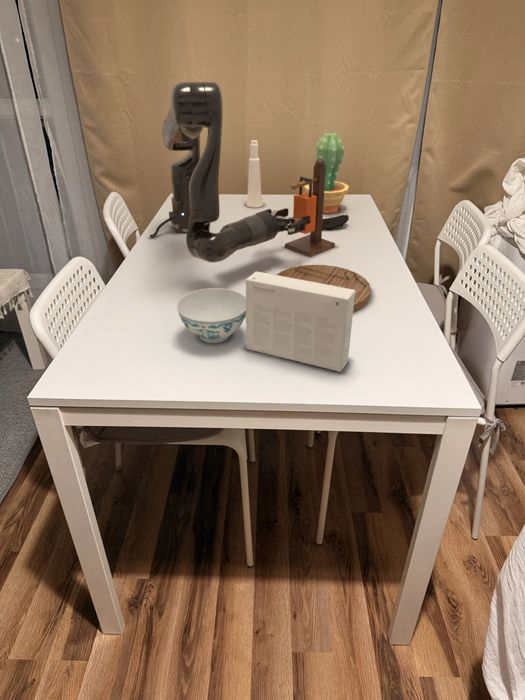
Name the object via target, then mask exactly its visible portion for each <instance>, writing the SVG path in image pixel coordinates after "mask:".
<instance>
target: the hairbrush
mask: <svg viewBox="0 0 525 700" xmlns="http://www.w3.org/2000/svg"><path fill="white" fill-rule="evenodd" d="M349 219H350V216H349V213H346V214H343V212H340V215H336V214H335V213H334V214H333V215H332V216H331V217H329V216H328V214H326V216H324V218H323V222H322V231H331V230H335V229H338V228H340V227H342V226H344V225H346V224H347V222H348V221H349ZM289 224H290V220H288V225H289Z"/></svg>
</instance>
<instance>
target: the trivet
mask: <svg viewBox="0 0 525 700" xmlns="http://www.w3.org/2000/svg"><path fill="white" fill-rule="evenodd" d="M275 275H278V276H284V277H289V278H294V279H300V280H305V281H311V282H316V283H321V284H327V285H332V286H337V287H342V288H347V289H353V290H355V298H354V308H353V313H354V312H356V311H358V310H360V309H362V308H364V306H366V305H367V304H368V302H369V300H370V297H371V289H372V288H371V284H370V282H369V281H368V280H367V279H366V278H365V277H364V276H363V275H360V274H359V273H358V272H355V271H352V270H351V269H348V268H344V267H340V266H335V265H328V264H304V265H298V266H293V267H289V268H286V269H283V270H281V271H279V272H278V273H276V274H275Z"/></svg>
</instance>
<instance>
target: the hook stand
mask: <svg viewBox="0 0 525 700" xmlns="http://www.w3.org/2000/svg"><path fill="white" fill-rule="evenodd" d="M325 173H326V166H325V161H324V160H323V159H318V160H317V159H316V160H315V162H314V165H313V175H312V178H311V179H312V183H313V192H312V195H314V196H317V201H316V219H315V231H313V232H310V233H309V234H306V235H304V236H301V237H298V238H296V239H293V240H290V241H288V242H286V243H284V248H286V249H287V250H291V251H293V252H296V253H299V254H301V255H304V256H306V257H309V258H311V257H314V256H316V255H319V254H321V253H324V252H326V251H329V250H330V249H333V248H335V246H336V242H333V241H330V240H327V239H324V238H322V236H323V230H322V222H323V219H324V213H323V205H324V189H325ZM305 185H309V182H308V181H305V180H303V181H302V182H300V181H299V182H292V183H291V185H290V188H291V190H295V191H296V190H297V189H299V187H302V188H303V187H305Z"/></svg>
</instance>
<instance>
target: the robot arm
mask: <svg viewBox="0 0 525 700" xmlns="http://www.w3.org/2000/svg"><path fill="white" fill-rule="evenodd" d="M223 106H224V102H223V95H222V91H221V87H220V86H219V84H218V83H217V82H216V81H180V82H178V83H176V84H174V86H173V88H172V91H171V95H170V109H168V110H169V111H168V112H167V117H166V118H164V119H163V123H162V126H161V127H162V128H161V136H162V141H163V144H164V146H165V147H166V149H167V150H168V151H171V152H182V151H183V152H185V151H188V153H187V154H186V155H185V156H183V157H182V158H180V159H178V160H175V161H174V162H172V163H171V164H170V176H171V177H170V178H171V188H172V197H171V208H172V211H168V218H167V219H165V220H164V221H163V222H161V223H160V224H158V226H157V227H156V229H155V231H154V233H153V234H150V235H149V238H155V237H156V236H157V235H158V233H159V231H160V229H161V228H162V227H164V225H166V224H167V223H169V222H170V223H171V224H172V225H173V227H174V229H175V230H176V231H177V232H178V233H186V234H185V235H186V236H185V244H186V248H187V251H188V252H189V254H190V255H191V256H192V257H193V258H196V259H199V260H202V261H205V262H208V263H219V262H222V261H224V260H226V259H228V258H229V257H231V256H232V255H233V254H235V253H236V252H237V251H241V250H243V249H246V248H250V247H254V246H257V245H260V244H263V243H266V242H268V241H271V240H274V239H275V238H276V237H277V235H278V234H279V233H282V232H287V236H292V235H295V234H298V233H301V232H302V231H305V225H307V224H310V221H311V216H309V215H307V216H304V217H301V218H295V219H294V218H293V216H289V208H287V207H285V208H281V209H273V210H272V209H271V208H267V209H264V210H262V211H259V212H256V213H255V214H252V215H249V216H246V217H244V218H241V219H239V220H237V221H233V222H230V223H227V224H225V225H223V226H222V227H221V229H220V231H219V232H212V231H211V223H215V222H217V221H218V220H219V218H220V212H221V210H220V189H219V188H220V186H219V185H220V184H219V183H220V182H219V180H220V179H219V178H220V163H221V153H222V152H221V151H222V134H223V117H224V111H223V110H224V109H223ZM205 128H207V138H206V142H205V147H204V149H203V152H202V154H201V133H202V132H203V129H205ZM288 220H290V224H288ZM294 222H296V223H294Z"/></svg>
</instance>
